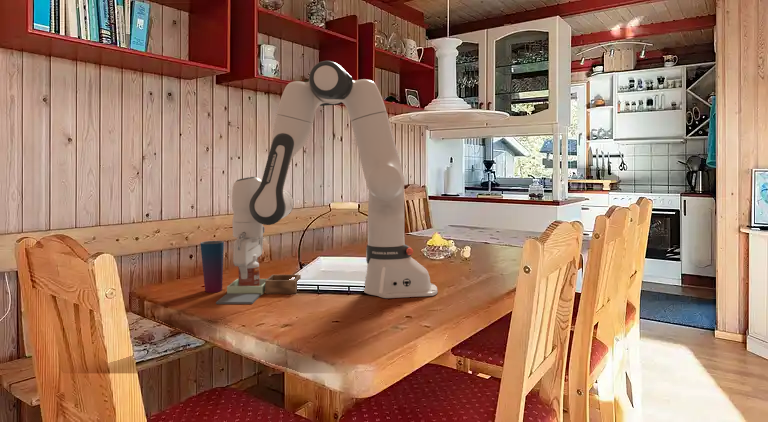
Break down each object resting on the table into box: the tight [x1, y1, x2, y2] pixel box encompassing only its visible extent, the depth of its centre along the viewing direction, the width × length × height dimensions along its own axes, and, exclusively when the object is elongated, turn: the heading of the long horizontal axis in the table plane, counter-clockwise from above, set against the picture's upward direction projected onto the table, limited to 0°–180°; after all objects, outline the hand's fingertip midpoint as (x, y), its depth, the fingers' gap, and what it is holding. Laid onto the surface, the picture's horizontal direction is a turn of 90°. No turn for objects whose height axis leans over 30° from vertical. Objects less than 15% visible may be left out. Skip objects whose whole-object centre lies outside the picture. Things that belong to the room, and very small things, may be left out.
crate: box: [264, 274, 302, 295], centre depth 163 cm, size 9×9×4 cm
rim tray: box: [226, 278, 268, 296], centre depth 163 cm, size 10×10×2 cm
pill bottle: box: [237, 254, 261, 286], centre depth 163 cm, size 6×6×11 cm
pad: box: [215, 292, 262, 305], centre depth 153 cm, size 10×10×1 cm
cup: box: [199, 240, 225, 294], centre depth 163 cm, size 7×7×15 cm
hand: (248, 275), depth 163 cm, fingers open, 8 cm apart
